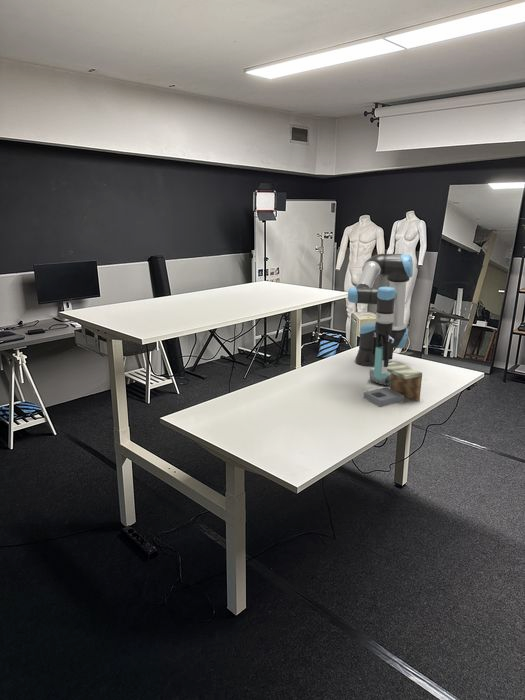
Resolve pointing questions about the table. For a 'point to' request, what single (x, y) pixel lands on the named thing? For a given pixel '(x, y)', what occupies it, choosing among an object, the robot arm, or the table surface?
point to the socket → (383, 396)
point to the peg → (379, 363)
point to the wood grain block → (405, 380)
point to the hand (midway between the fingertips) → (380, 371)
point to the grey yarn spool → (381, 381)
